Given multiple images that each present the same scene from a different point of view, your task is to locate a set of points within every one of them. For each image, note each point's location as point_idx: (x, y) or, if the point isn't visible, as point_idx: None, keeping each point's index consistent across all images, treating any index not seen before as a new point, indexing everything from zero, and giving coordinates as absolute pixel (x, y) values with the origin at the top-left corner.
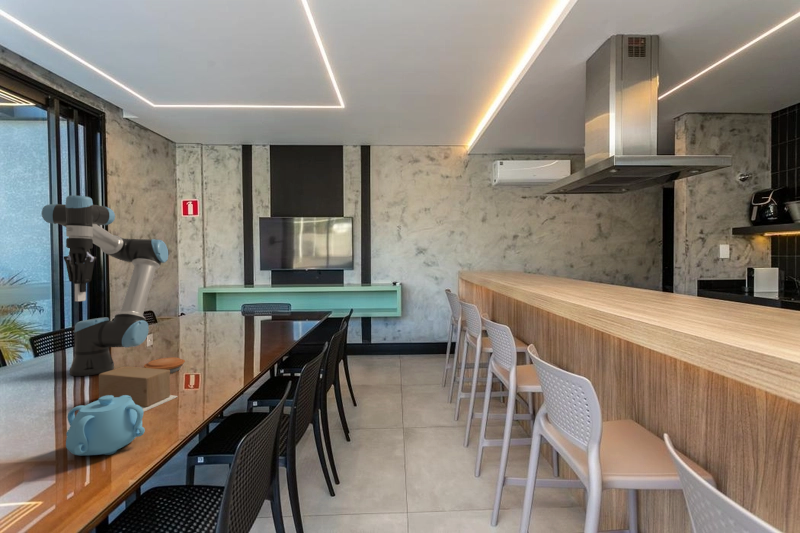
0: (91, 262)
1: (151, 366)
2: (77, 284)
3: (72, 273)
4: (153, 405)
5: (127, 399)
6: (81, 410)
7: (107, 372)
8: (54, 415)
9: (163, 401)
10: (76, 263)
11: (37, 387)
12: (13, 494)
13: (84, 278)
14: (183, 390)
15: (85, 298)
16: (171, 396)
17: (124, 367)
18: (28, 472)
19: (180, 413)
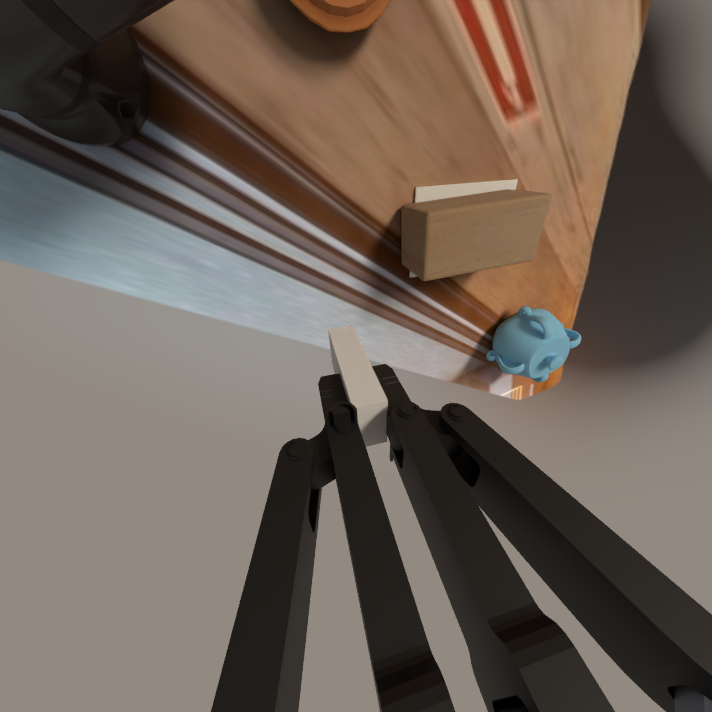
0: (692, 641)
1: (341, 14)
2: (383, 438)
3: (310, 547)
4: None
5: (565, 341)
6: (533, 376)
7: (434, 268)
8: (381, 318)
9: None
10: (483, 694)
11: (166, 256)
12: (496, 391)
13: (471, 461)
14: (509, 135)
15: (355, 333)
16: (508, 187)
17: (439, 225)
18: (481, 378)
19: (552, 239)
